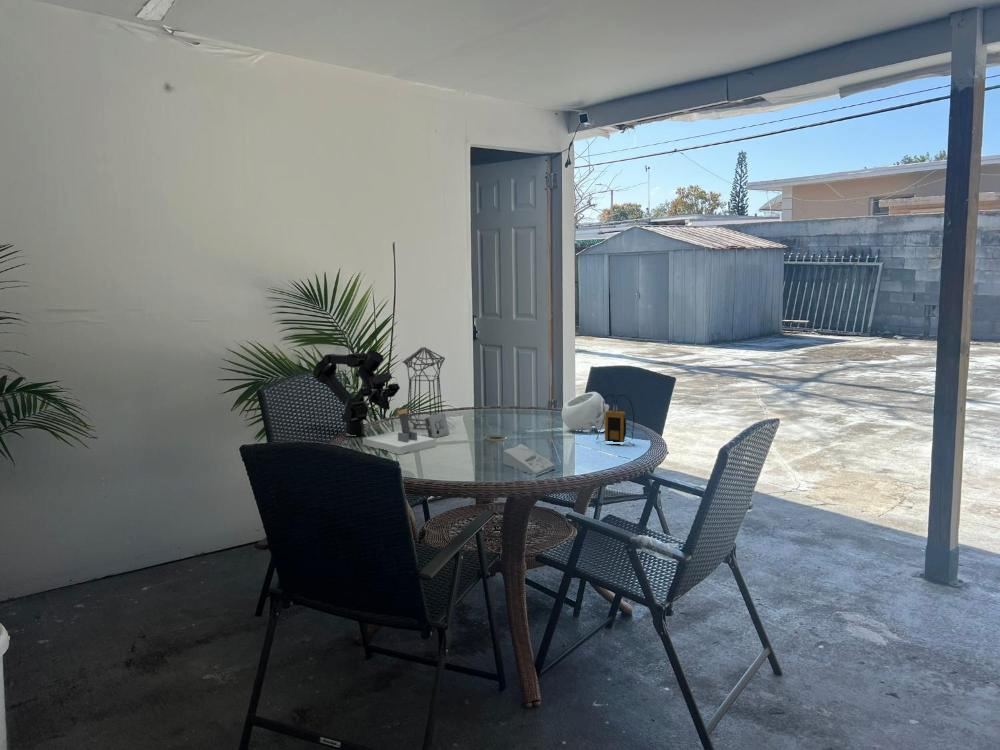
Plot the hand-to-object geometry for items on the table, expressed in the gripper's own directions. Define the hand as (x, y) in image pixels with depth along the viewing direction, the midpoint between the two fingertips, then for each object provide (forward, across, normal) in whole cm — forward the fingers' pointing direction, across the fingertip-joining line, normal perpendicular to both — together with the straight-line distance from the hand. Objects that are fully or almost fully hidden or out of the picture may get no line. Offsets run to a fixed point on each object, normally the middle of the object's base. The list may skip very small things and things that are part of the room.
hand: (387, 409), depth 294 cm
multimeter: (+56, +61, -37) cm, 91 cm away
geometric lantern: (+2, +29, +18) cm, 34 cm away
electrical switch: (+13, +22, +7) cm, 26 cm away
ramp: (+54, +10, -34) cm, 65 cm away
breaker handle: (+15, 0, -1) cm, 15 cm away
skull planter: (+41, +71, -22) cm, 85 cm away
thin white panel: (+14, 0, +5) cm, 15 cm away
